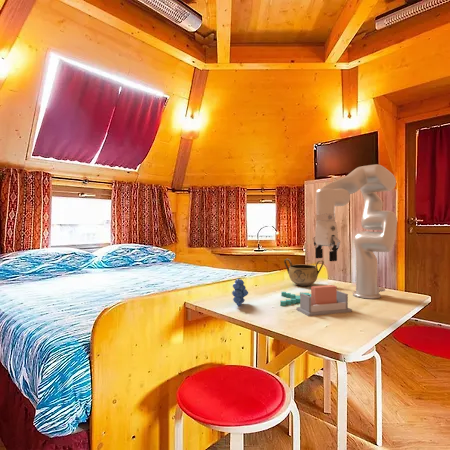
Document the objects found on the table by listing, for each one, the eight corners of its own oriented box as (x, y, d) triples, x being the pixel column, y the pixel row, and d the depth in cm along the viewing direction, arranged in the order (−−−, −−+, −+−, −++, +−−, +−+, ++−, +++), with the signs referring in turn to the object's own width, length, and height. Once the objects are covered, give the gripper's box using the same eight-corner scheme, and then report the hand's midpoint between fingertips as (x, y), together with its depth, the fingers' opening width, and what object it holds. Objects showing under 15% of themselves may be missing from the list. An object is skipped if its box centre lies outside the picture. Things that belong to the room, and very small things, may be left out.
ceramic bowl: (325, 284, 184) (325, 258, 184) (321, 289, 168) (321, 261, 168) (287, 281, 193) (287, 256, 193) (280, 286, 178) (280, 259, 178)
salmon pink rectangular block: (332, 306, 132) (332, 285, 132) (336, 308, 129) (336, 286, 129) (311, 308, 129) (311, 286, 129) (315, 310, 127) (315, 287, 126)
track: (337, 306, 137) (337, 289, 136) (351, 311, 128) (351, 294, 128) (296, 309, 131) (296, 293, 131) (308, 316, 122) (308, 298, 122)
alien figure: (280, 306, 137) (328, 309, 133) (280, 301, 137) (328, 304, 133) (281, 296, 157) (323, 298, 153) (281, 291, 157) (323, 293, 153)
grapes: (243, 310, 130) (243, 281, 130) (228, 308, 133) (228, 280, 133) (252, 303, 141) (252, 276, 141) (238, 301, 144) (238, 275, 144)
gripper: (346, 218, 124) (347, 261, 124) (321, 218, 140) (321, 256, 141) (330, 218, 121) (330, 263, 122) (306, 218, 138) (306, 257, 138)
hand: (325, 259), depth 131 cm, fingers open, 9 cm apart
